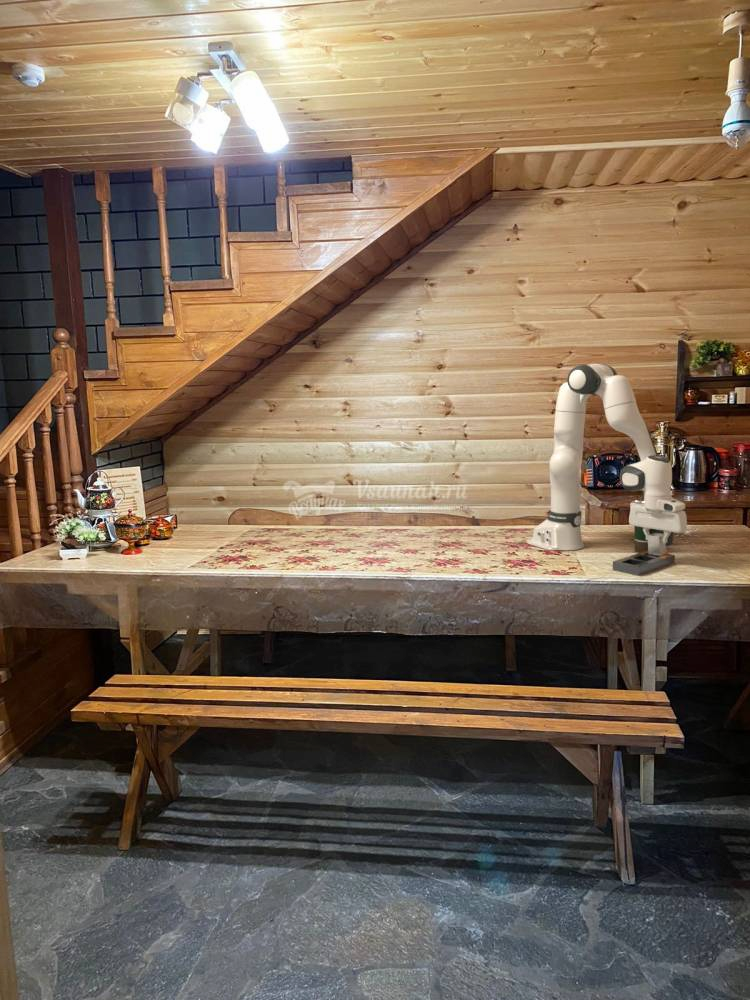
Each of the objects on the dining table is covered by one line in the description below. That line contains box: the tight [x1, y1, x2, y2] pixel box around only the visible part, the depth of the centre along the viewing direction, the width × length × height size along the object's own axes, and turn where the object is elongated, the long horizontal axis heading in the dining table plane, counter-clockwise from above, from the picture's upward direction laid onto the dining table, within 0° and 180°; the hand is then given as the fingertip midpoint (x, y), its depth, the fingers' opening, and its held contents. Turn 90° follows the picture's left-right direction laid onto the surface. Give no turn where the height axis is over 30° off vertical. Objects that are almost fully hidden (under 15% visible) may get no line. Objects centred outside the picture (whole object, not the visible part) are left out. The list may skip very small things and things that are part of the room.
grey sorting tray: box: [612, 550, 676, 577], centre depth 253 cm, size 10×22×4 cm, turn 128°
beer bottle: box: [633, 490, 657, 554], centre depth 273 cm, size 8×8×24 cm
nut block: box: [648, 533, 667, 556], centre depth 257 cm, size 4×4×7 cm
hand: (656, 541), depth 256 cm, fingers closed on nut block, 4 cm apart
